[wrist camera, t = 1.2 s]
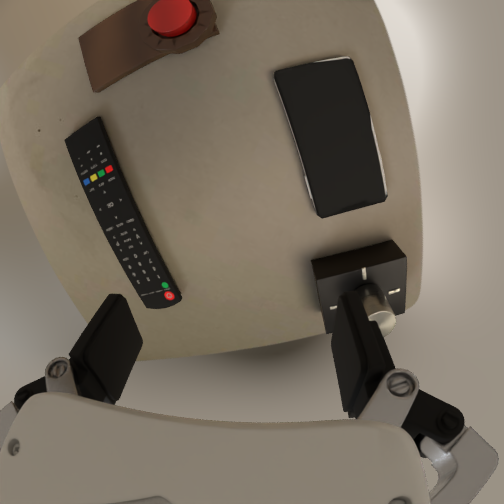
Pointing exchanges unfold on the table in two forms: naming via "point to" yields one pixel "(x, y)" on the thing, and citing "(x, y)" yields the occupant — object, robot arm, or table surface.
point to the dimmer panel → (361, 276)
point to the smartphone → (333, 135)
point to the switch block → (137, 41)
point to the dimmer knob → (377, 307)
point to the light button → (172, 17)
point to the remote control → (120, 215)
